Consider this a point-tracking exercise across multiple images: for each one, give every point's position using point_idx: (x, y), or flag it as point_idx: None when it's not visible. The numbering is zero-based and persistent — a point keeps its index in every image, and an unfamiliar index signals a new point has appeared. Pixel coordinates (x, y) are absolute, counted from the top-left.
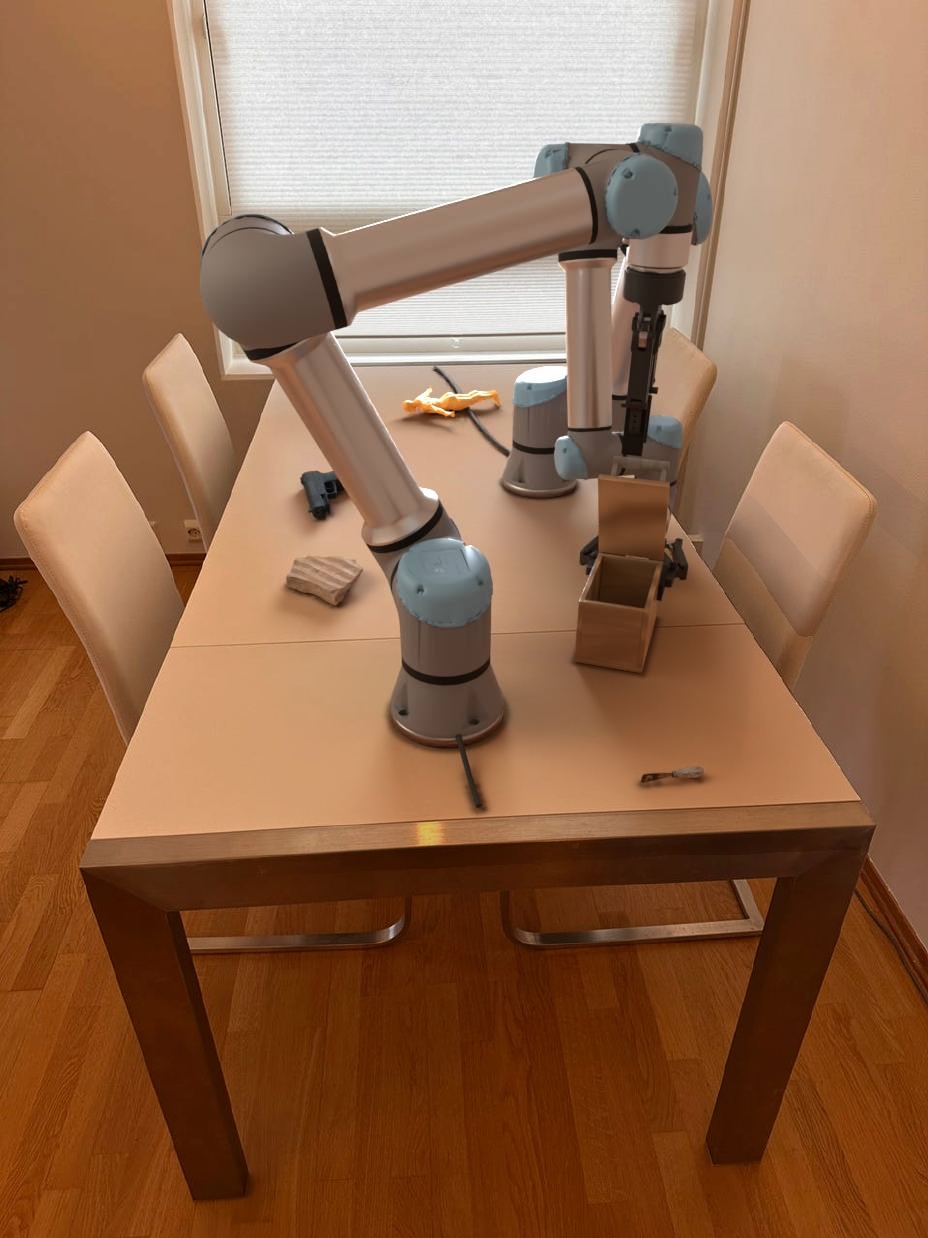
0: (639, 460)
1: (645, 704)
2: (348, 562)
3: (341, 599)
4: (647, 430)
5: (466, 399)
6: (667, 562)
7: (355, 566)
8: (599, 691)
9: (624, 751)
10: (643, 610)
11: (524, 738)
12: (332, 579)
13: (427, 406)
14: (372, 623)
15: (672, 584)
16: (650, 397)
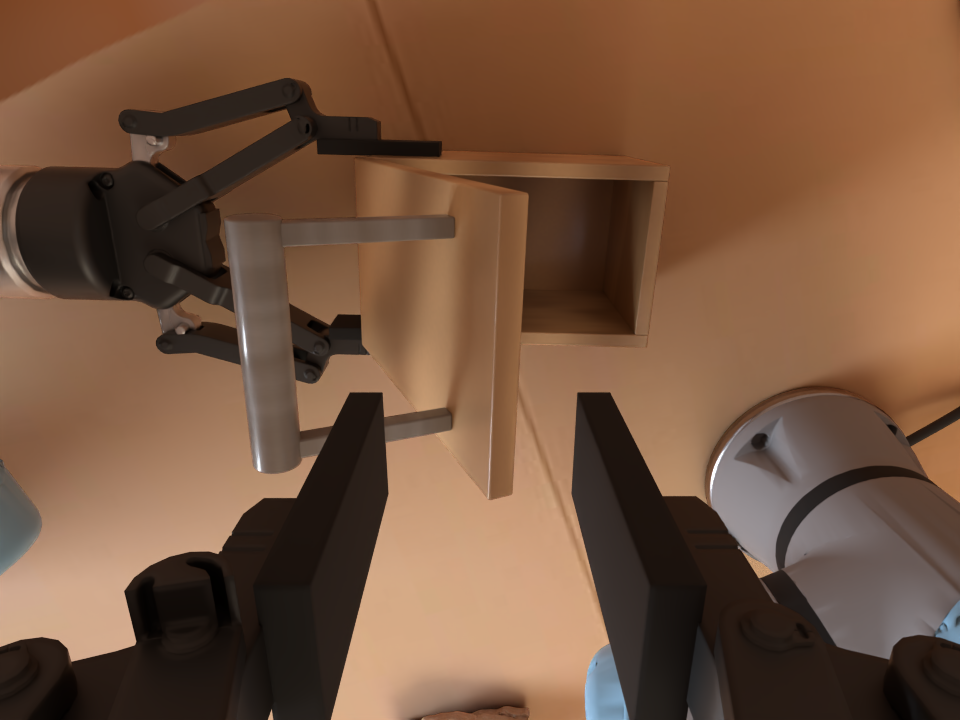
0: (272, 364)
1: (732, 133)
2: None
3: (510, 708)
4: (370, 427)
5: None
6: (291, 144)
7: None
8: (701, 233)
9: (888, 157)
10: (664, 181)
11: (860, 339)
12: None
13: None
14: (560, 644)
15: (372, 118)
16: (315, 589)
